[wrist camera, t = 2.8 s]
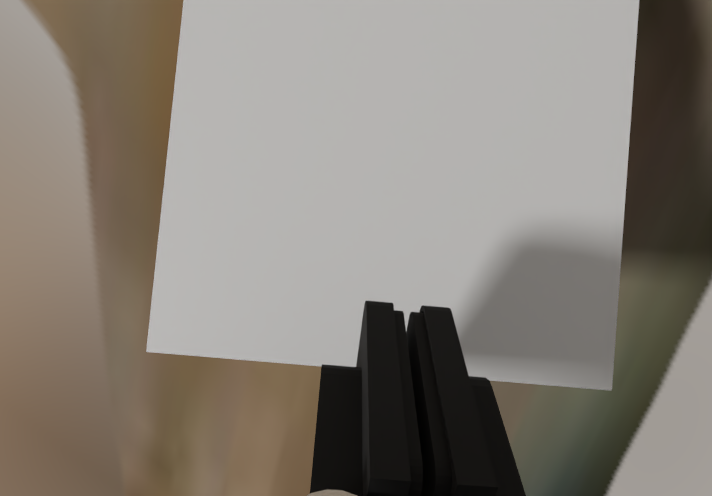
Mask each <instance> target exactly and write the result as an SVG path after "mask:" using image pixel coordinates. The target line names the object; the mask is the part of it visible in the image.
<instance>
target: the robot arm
mask: <svg viewBox="0 0 712 496" xmlns="http://www.w3.org/2000/svg"><path fill="white" fill-rule="evenodd" d="M307 496H526V495H525V492H524V489H523V485H522V482H521V479H520V476H519V472H518V469H517V466H516V463H515V460H514V456H513V453H512V450H511V447H510V443H509V440H508V437H507V434H506V431H505V427H504V424H503V421H502V418H501V415H500V411H499V408H498V405H497V402H496V398H495V395H494V392H493V389H492V386H491V384H490V381H489V380H488V379H487V378H485V377H473V376H469V375H468V372H467V368H466V364H465V360H464V356H463V353H462V349H461V345H460V341H459V337H458V334H457V330H456V326H455V322H454V318H453V315H452V311H451V309H450V308H447V307H436V306H424V305H422V306H421V308H420V311H419V312H411V313H410V315H409V320H408V326H407V331H406V328H405V320H404V313H403V311H397V310H394V305H393V303H389V302H378V301H365V304H364V311H363V318H362V326H361V334H360V341H359V349H358V356H357V364H356V367H349V366H336V365H324V364H322V368H321V379H320V390H319V401H318V412H317V423H316V434H315V445H314V456H313V467H312V478H311V489H310V494H309V495H307Z"/></svg>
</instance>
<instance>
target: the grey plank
mask: <svg viewBox="0 0 712 496" xmlns="http://www.w3.org/2000/svg"><path fill="white" fill-rule="evenodd" d="M638 12H639V0H184V2H183V11H182V21H181V30H180V40H179V49H178V58H177V68H176V77H175V86H174V96H173V105H172V115H171V124H170V133H169V143H168V152H167V162H166V171H165V180H164V190H163V199H162V209H161V218H160V227H159V237H158V246H157V256H156V265H155V274H154V284H153V293H152V303H151V312H150V321H149V331H148V340H147V350H146V352H155V353H167V354H179V355H191V356H203V357H215V358H227V359H239V360H251V361H263V362H275V363H287V364H299V365H311V366H322V364H324V365H336V366H349V367H356V364H357V356H358V349H359V341H360V334H361V326H362V318H363V311H364V304H365V301H378V302H389V303H393V305H394V310H397V311H403V313H404V320H405V328H406V331H407V326H408V320H409V315H410V313H411V312H419V311H420V308H421V306H422V305H424V306H436V307H447V308H450V309H451V311H452V315H453V318H454V322H455V326H456V330H457V334H458V337H459V341H460V345H461V349H462V353H463V356H464V360H465V364H466V368H467V372H468V375H469V376H473V377H485V378H487V379H488V380H492V381H504V382H516V383H528V384H540V385H552V386H564V387H576V388H588V389H600V390H612V381H613V366H614V352H615V338H616V324H617V310H618V296H619V281H620V267H621V253H622V239H623V225H624V211H625V196H626V182H627V168H628V154H629V140H630V126H631V111H632V97H633V83H634V69H635V55H636V40H637V26H638Z"/></svg>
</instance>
